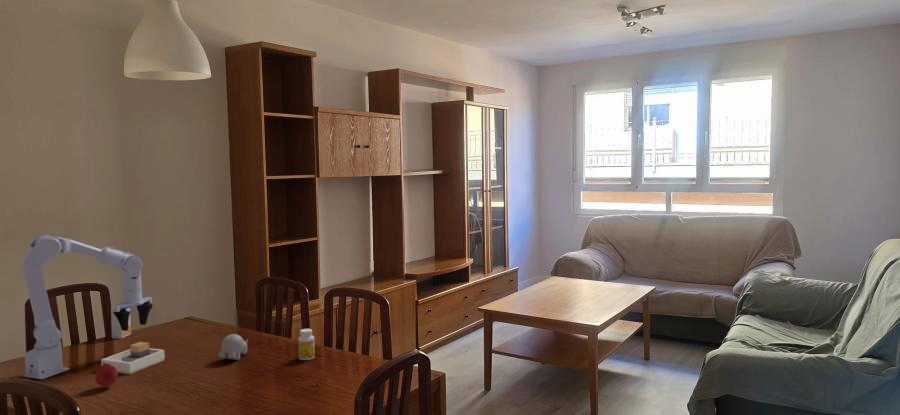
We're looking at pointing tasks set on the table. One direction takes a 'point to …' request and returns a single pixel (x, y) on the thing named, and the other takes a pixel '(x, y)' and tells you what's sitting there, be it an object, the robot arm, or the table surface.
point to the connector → (139, 350)
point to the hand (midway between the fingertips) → (134, 327)
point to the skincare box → (119, 327)
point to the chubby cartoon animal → (233, 347)
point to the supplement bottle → (306, 345)
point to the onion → (106, 375)
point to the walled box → (134, 361)
